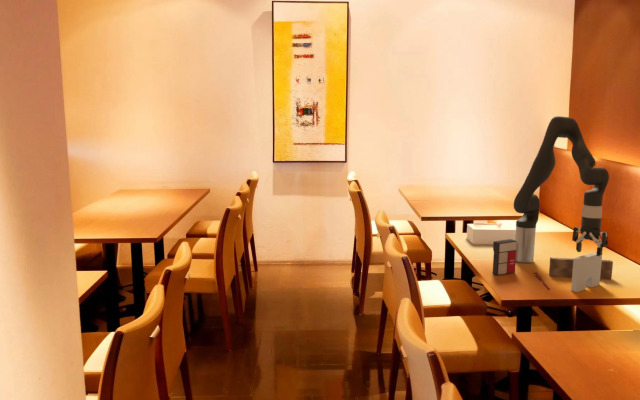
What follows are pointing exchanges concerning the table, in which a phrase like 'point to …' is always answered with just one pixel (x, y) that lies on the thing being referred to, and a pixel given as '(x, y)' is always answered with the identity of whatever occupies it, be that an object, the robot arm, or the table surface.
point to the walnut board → (565, 268)
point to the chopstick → (540, 279)
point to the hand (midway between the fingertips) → (588, 253)
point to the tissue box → (489, 232)
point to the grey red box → (504, 256)
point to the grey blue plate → (586, 271)
